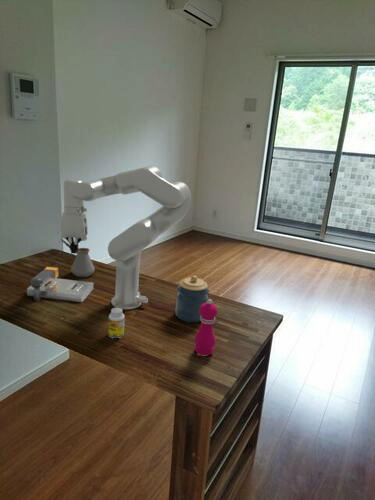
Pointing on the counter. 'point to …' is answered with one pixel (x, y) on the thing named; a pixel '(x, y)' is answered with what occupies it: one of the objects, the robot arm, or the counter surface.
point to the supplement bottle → (116, 323)
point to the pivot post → (37, 294)
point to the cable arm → (44, 276)
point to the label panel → (64, 289)
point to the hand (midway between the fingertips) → (74, 252)
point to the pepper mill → (206, 329)
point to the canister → (191, 298)
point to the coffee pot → (81, 262)
